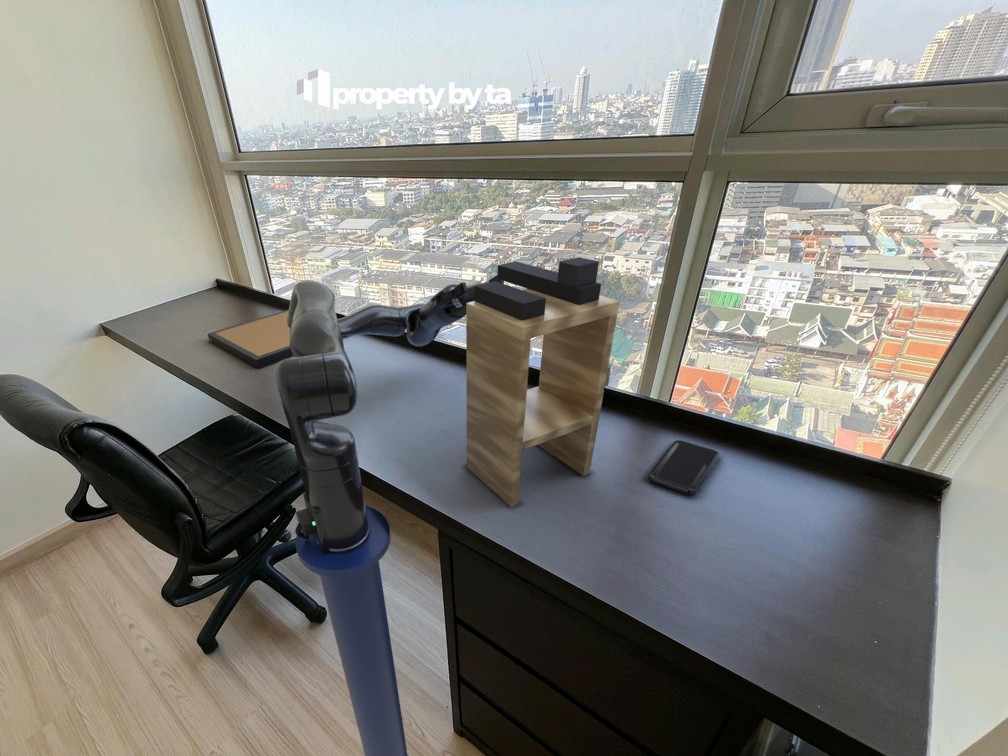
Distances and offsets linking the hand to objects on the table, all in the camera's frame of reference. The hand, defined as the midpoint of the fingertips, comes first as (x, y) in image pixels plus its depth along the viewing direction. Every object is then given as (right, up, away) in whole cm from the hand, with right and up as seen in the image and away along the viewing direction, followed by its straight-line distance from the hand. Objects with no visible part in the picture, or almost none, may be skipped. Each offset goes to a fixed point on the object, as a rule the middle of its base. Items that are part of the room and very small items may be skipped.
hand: (483, 283), depth 93 cm
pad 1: (0, -11, -21) cm, 24 cm away
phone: (+36, -36, -5) cm, 51 cm away
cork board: (-58, +5, +69) cm, 90 cm away
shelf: (+8, -36, -2) cm, 37 cm away
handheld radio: (+22, -22, +17) cm, 36 cm away
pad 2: (+8, -6, -14) cm, 17 cm away
